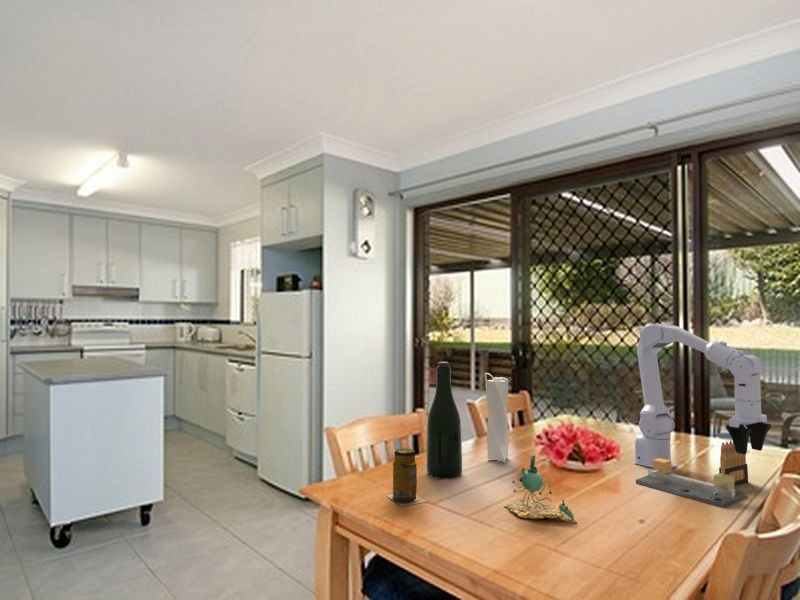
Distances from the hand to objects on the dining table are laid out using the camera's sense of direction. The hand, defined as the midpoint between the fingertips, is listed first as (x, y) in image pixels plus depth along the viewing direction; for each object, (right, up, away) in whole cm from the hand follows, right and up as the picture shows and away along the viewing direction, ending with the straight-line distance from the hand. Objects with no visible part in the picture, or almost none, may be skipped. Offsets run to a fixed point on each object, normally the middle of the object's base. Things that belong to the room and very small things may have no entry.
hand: (749, 451), depth 131 cm
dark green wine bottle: (-80, -11, +14) cm, 82 cm away
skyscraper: (-61, -12, +29) cm, 69 cm away
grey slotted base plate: (-16, -10, 0) cm, 19 cm away
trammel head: (-21, -8, +5) cm, 23 cm away
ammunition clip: (-1, -10, +4) cm, 11 cm away
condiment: (-92, -11, -6) cm, 92 cm away
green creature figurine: (-61, -10, -17) cm, 64 cm away
